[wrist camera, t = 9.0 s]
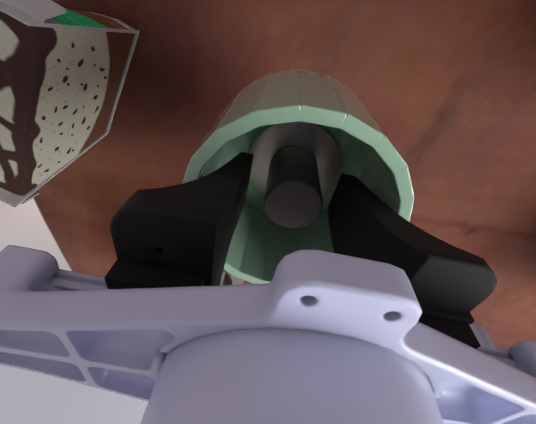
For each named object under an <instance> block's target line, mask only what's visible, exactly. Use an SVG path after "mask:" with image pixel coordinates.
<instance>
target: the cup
mask: <svg viewBox="0 0 536 424" xmlns="http://www.w3.org/2000/svg"><path fill="white" fill-rule="evenodd" d="M296 121H302V122H308V123H313V124H319V125H323V126H325V127H326V128H327V129H328V130H329V131H330V132H331V133H332V134H333V136H334V137H335V139H336V141H337V143H338V146H339V149H340V152H341V157H342V167H341V172H340V175H339V178H338V180H337V182H336V183H335V185H334V186H333V188H332V189H331V190H330V191H329V192H328V193H327V194H326V195H325V196H323V197H322V200H323V208H322V211H321V213H320V215H319V217H318V218H317V219H316V220H315V221H314V222H312V223H311V224H309V225H307V226H304V227H300V228H286V227H283V226H280V225H278V224H276V223H274V222H273V221H272V220H271V219H270V218H269V217H268V216H267V214H266V212H265V209H264V197H263V196H262V195H261V194H259V193H258V192H257V191H256V189H255V188H254V187H253V185H252V184H251V182H250V180H249V186H248V191H247V195H246V200H245V204H244V207H243V210H242V212H241V215H240V218H239V220H238V223H237V226H236V228H235V231H234V234H233V236H232V239H231V242H230V246H229V250H228V254H227V258H226V262H225V266H224V270H225V271H227V272H228V273H230V274H231V275H233V276H235V277H237V278H240V279H243V280H245V281H248V282H251V283H253V284H268V283H270V282H271V281H272V279H273V277H274V274H275V271H276V268H277V265H278V264H279V263H280V261H281V260H282V259H283V258H284V256H286V255H288V254H291V253H293V252H296V251H298V250H321V251H326V252H331V253H334V250H333V245H332V239H331V234H330V228H329V221H328V205H329V203H330V200H331V198H332V196H333V193H334V191H335V188H336V186H337V184H338V181H339V179H340V176H341V174H342V173H344V174H349V175H354V176H355V177H357V178H358V179H359V180H360V181H361V182H362V183H363V184H365V185H366V186H367V187H368V188H369V189H370V190H371V191H372V192H373V193H374V194H375V195H376V196H377V197H378V198H379V199H381V200H382V201H383V202H384V203H385V204H386V205H387V206H389V207H390V208H391V209H392V210H394V211H395V212H396V213H397V214H399V215H400V216H402V217H403V218H404V219H406V220H407V221H409V222H410V217H411V213H412V208H413V203H414V191H413V187H412V182H411V178H410V173H409V168H408V166H407V163H406V162H405V161H404V159H403V158H402V156H401V155H400V154H399V152H398V151H397V149H396V148H395V147H394V145H393V144H392V143H391V141H390V140H389V138H388V137H387V136H386V134H385V133H384V131H383V130H382V129H381V127H380V126H379V125H378V123H377V122H376V120H375V119H374V118H373V116H372V115H371V113H370V112H369V111H368V109H367V108H366V107H365V105H364V104H363V103H362V101H361V100H360V99H359V97H358V96H357V95H356V93H354V92H353V91H352V90H351V89H349V88H348V87H347V86H346V85H345V84H343V83H342V82H340V81H338V80H337V79H335V78H333V77H331V76H328V75H326V74H323V73H319V72H315V71H311V70H301V69H294V70H283V71H278V72H274V73H271V74H268V75H265V76H263V77H260V78H259V79H257V80H255V81H253V82H251V83H250V84H249V85H247V86H246V87H244V88H243V89H242V90H241V91H240V92H239V93H238V94H237V95H236V96H235V97H234V98H233V99H232V100H231V102H230V103H229V104H228V105H227V107H226V108H225V109H224V110H223V111H222V113H221V114H220V116H219V117H218V119H217V120H216V122H215V123H214V125H213V126H212V128H211V129H210V131H209V132H208V134H207V135H206V136H205V138H204V139H203V141H202V142H201V144H200V145H199V147H198V148H197V150H196V151H195V153H194V154H193V156H192V157H191V159H190V162H189V164H188V167H187V170H186V173H185V176H184V179H183V181H182V184H183V183H186V182H189V181H193V180H196V179H199V178H201V177H203V176H206V175H208V174H210V173H212V172H214V171H215V170H217V169H219V168H220V167H222V166H223V165H225V164H226V163H227V162H229V161H230V160H231V159H233V158H234V157H235V156H236V155H238V154H239V153H240V152H244V153H248V150H249V147H250V144H251V142H252V140H253V138H254V137H255V135H256V134H257V133H258V132H259V131H260V130H261V129H262V128H263V127H264V126H266V125H273V124H280V123H288V122H296Z"/></svg>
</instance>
